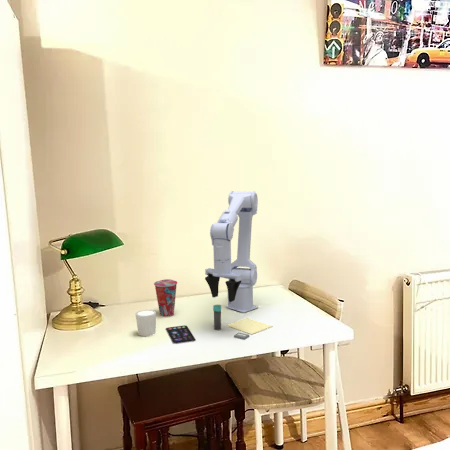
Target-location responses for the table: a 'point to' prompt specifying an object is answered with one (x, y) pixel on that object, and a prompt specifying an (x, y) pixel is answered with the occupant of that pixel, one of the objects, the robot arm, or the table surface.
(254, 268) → the robot arm
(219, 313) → the marker
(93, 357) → the table surface
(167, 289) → the cup
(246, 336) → the word tile
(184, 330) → the smartphone
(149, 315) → the white short cylinder
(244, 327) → the note pad
